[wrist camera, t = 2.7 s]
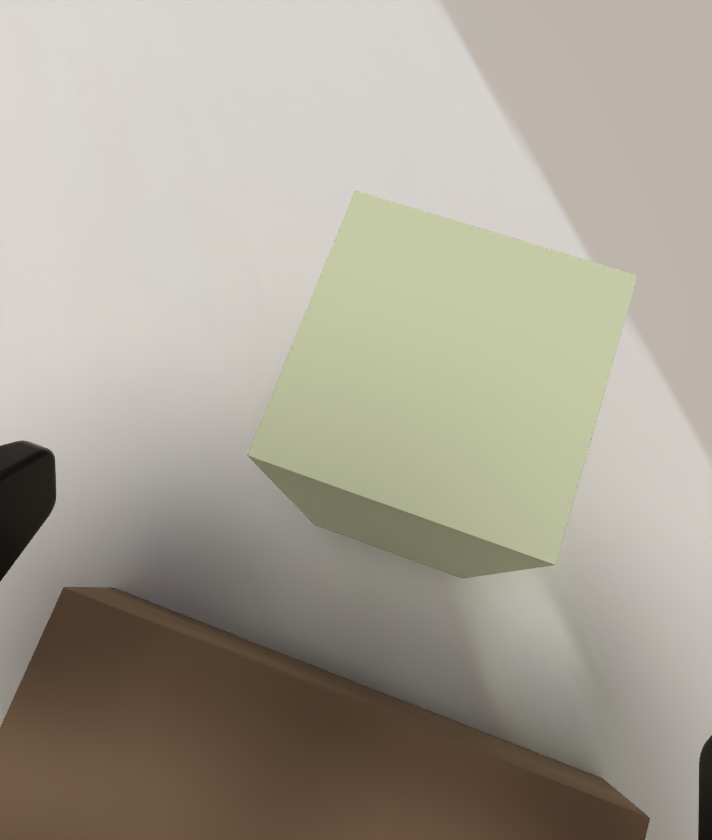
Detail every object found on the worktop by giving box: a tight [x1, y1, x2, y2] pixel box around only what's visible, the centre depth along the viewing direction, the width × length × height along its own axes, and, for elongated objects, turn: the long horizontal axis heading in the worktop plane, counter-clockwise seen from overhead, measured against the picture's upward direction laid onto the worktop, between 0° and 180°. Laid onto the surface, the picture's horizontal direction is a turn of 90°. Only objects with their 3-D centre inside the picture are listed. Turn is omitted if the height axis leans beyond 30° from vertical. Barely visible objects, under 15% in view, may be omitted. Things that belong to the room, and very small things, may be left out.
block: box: [248, 191, 637, 578], centre depth 14 cm, size 4×4×10 cm
